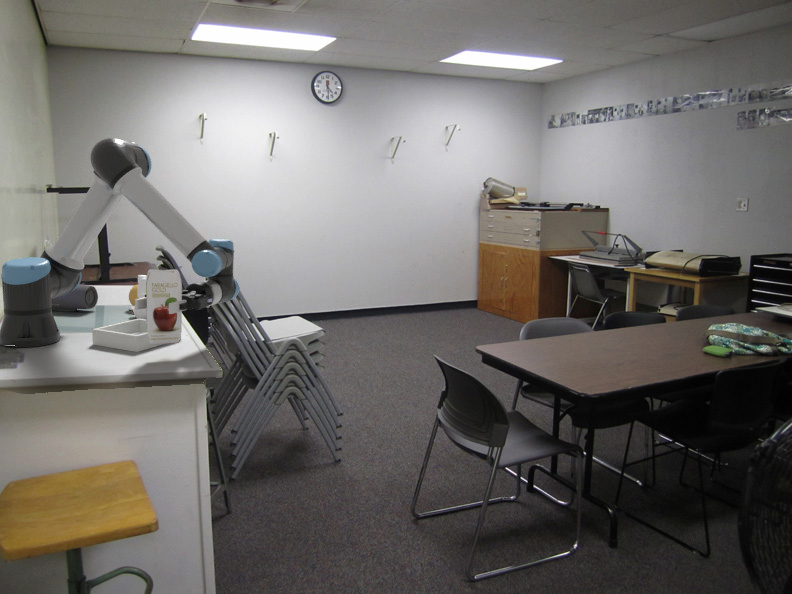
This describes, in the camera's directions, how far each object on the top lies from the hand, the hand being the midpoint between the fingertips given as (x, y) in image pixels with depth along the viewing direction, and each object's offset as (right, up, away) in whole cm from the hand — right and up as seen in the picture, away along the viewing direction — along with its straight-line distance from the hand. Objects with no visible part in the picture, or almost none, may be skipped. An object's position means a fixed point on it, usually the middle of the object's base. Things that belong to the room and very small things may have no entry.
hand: (153, 306), depth 154 cm
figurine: (-26, -5, +56) cm, 62 cm away
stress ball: (-32, -2, +69) cm, 76 cm away
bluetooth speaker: (-58, -2, +62) cm, 85 cm away
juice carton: (+1, -9, +6) cm, 11 cm away
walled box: (-14, -11, +23) cm, 29 cm away
